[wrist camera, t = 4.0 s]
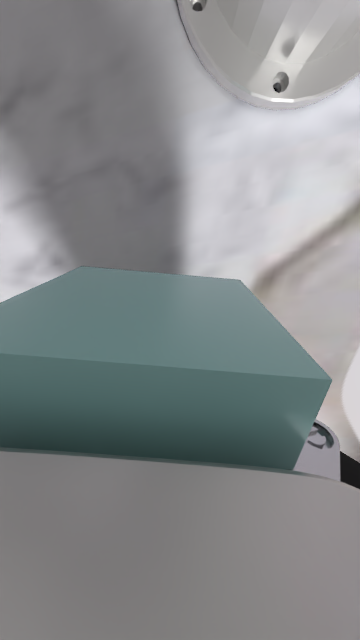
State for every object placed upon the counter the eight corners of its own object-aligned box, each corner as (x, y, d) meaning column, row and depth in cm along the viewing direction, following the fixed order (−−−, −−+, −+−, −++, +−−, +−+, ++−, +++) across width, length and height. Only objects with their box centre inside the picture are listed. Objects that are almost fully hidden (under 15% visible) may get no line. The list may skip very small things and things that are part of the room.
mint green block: (81, 266, 11) (-95, 345, 4) (239, 279, 11) (332, 379, 4) (93, 391, 14) (4, 558, 7) (216, 400, 14) (247, 573, 7)
